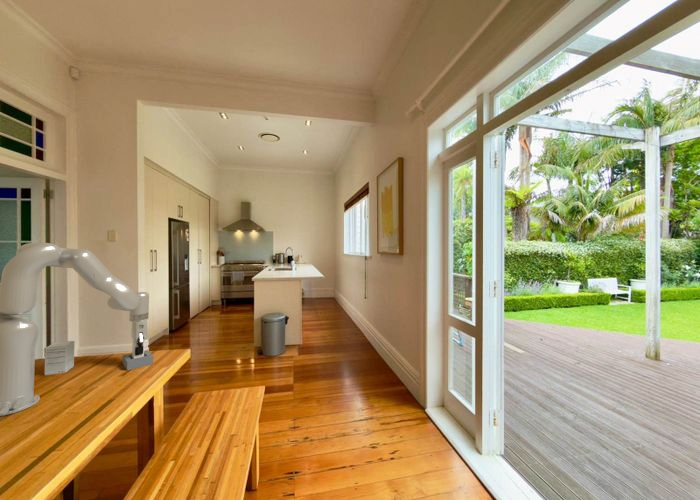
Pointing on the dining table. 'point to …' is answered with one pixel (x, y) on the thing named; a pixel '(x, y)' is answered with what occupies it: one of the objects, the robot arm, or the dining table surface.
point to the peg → (134, 350)
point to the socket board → (137, 360)
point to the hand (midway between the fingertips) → (138, 352)
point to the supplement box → (59, 357)
